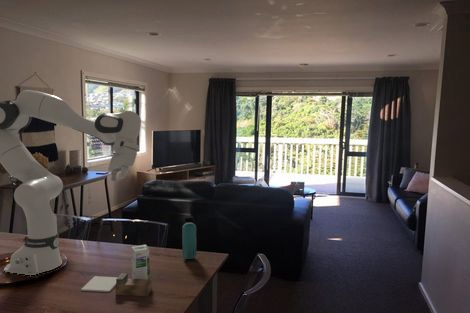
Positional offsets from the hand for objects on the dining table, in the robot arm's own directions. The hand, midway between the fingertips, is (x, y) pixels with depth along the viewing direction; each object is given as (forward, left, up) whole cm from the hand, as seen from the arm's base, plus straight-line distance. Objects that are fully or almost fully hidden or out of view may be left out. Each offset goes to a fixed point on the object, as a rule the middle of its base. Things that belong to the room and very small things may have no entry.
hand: (117, 179), depth 149 cm
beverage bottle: (+26, +16, -39) cm, 50 cm away
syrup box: (+12, -9, -39) cm, 42 cm away
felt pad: (-2, -12, -39) cm, 41 cm away
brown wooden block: (+12, -16, -39) cm, 44 cm away
